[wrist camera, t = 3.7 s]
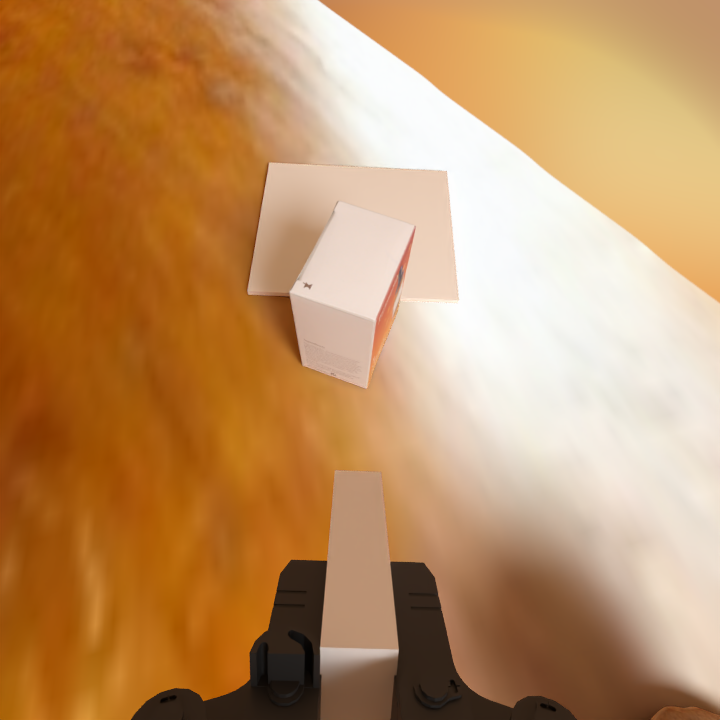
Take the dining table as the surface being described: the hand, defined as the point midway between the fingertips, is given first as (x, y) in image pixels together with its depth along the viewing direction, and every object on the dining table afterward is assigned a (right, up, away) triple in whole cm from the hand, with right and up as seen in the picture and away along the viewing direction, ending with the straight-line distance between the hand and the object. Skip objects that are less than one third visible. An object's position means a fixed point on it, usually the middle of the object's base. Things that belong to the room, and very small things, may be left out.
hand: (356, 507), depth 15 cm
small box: (-1, +7, +23) cm, 24 cm away
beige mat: (0, +17, +29) cm, 33 cm away
